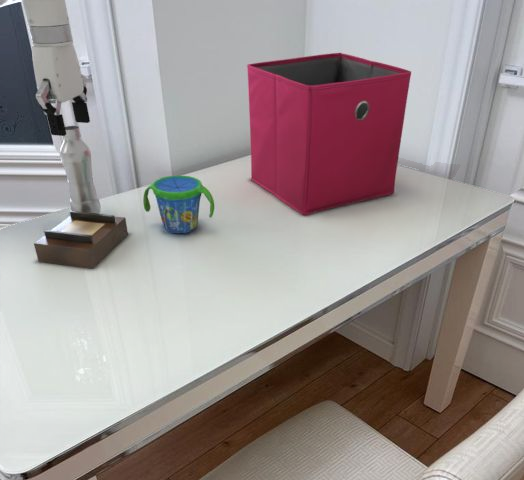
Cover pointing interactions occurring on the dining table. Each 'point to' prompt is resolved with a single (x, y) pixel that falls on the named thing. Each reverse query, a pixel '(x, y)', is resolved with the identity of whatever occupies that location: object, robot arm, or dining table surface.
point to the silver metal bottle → (79, 172)
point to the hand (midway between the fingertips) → (71, 128)
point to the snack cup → (178, 202)
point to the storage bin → (326, 129)
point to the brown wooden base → (81, 239)
